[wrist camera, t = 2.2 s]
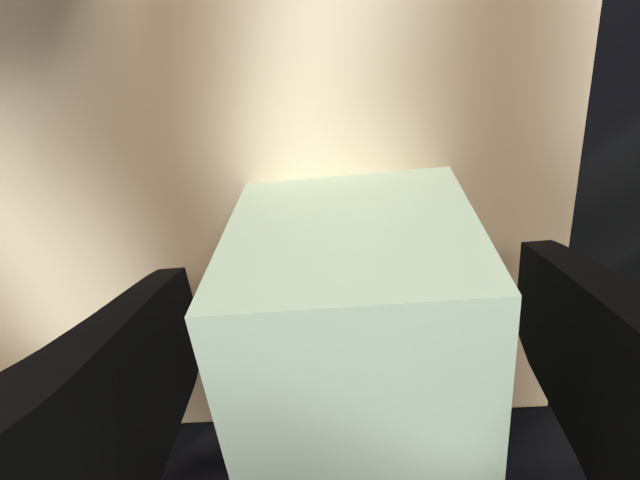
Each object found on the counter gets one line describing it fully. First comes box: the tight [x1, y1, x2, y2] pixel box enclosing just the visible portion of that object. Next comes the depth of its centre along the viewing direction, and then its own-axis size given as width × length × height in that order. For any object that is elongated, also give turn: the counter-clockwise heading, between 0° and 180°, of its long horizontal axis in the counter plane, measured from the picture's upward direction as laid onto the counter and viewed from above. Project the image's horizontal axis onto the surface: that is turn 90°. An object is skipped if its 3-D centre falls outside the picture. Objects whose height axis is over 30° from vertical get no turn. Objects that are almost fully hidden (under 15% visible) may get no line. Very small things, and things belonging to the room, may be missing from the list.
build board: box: [0, 0, 602, 423], centre depth 10 cm, size 16×20×1 cm
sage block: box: [184, 166, 522, 480], centre depth 10 cm, size 4×4×5 cm
